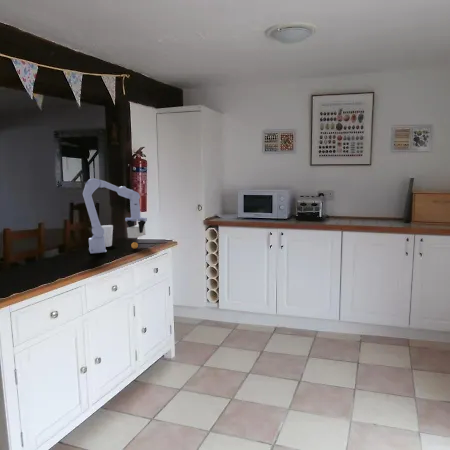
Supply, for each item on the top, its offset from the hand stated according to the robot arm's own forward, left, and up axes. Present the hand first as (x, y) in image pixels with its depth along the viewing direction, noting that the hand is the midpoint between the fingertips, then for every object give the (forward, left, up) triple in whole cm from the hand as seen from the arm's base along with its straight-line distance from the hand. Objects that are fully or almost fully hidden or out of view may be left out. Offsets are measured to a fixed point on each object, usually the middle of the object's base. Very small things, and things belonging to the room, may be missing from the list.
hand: (136, 232), depth 260 cm
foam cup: (-17, +19, -10) cm, 27 cm away
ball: (-2, -2, -8) cm, 8 cm away
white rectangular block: (0, 0, -2) cm, 2 cm away
